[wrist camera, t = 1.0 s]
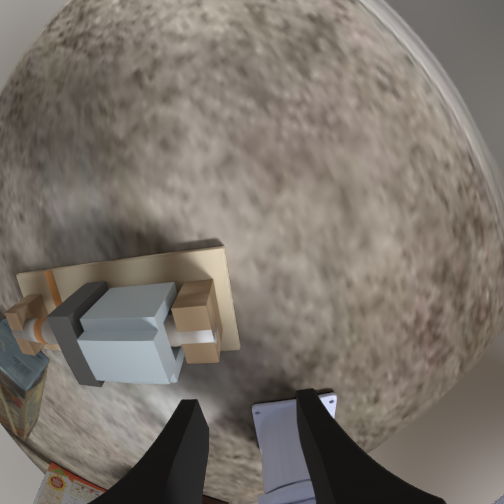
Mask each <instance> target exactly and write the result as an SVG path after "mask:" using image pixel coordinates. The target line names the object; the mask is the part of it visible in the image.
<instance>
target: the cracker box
mask: <svg viewBox="0 0 504 504" xmlns="http://www.w3.org/2000/svg"><path fill="white" fill-rule="evenodd" d="M106 491H107V490H105V489H102V488H100V487H98V486H96V485H94V484H91V483H89V482H87V481H85V480H83V479H81V478H79V477H78V476H76V475H74V474H72V473H70V472H69V471H67V470H65V469H63V468H62V467H60V466H58V465H57V464H55V463H53V462H51V464H50V466H49V468H48V470H47V472H46V474H45V477H44V479H43V481H42V484H41V486H40V488H39V491H38V493H37V495H36V498H35V500H34V503H33V504H87V503H89V502H91V501H92V500H94V499H95V498H97V497H98V496H100V495H101V494H103V493H104V492H106Z"/></svg>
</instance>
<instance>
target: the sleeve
mask: <svg viewBox="0 0 504 504" xmlns="http://www.w3.org/2000/svg"><path fill="white" fill-rule="evenodd" d="M177 296H178V295H177V291H176V286H175V282H170V283H159V284H149V285H139V286H128V287H116V288H110V289H109V290H108V291H107V292H106V293H105V294H104V295H103V296H102V297H101V298H100V299H99V300H98V301H97V302H96V303H95V304H94V305H93V306H92V307H91V308H90V309H89V310H88V311H87V312H86V313H85V314H84V315H83V316H82V317H81V318H80V322H81V324H82V327H83V329H84V332H83V333H82V335H81V336H80V337H79V338H78V339H77V342H78V344H79V346H80V348H81V350H82V353H83V355H84V357H85V359H86V361H87V363H88V365H89V367H90V369H91V371H92V373H93V375H94V376H95V378H96V380H100V381H111V382H124V383H142V384H170V382H177V380H178V377H179V373H180V370H181V366H182V363H183V359H184V356H185V355H184V352H183V348H182V346H175V347H171V346H170V343H169V340H168V337H167V334H166V330H165V327H164V324H163V322H164V320H165V318H166V316H167V315H173V314H172V310H171V308H172V306H173V304H174V302H175V300H176V298H177Z"/></svg>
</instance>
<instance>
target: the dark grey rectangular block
mask: <svg viewBox="0 0 504 504" xmlns="http://www.w3.org/2000/svg"><path fill="white" fill-rule="evenodd" d="M107 291H108V287H107V283H106V281H103V282H93V283H85V284H84V285H83V286H81V287H80V288H79V289H78V290H77V291H75V292H74V293H73V294H72V295H71V296H69V297H68V298H67V299H66V300H65V301H64V302H62V303H61V304H60V305H59V306H58V307H57V308H55V309H54V310H53V311H52V312H51V313H50V314H49V315H48V316H46V317H47V320H48V322H49V324H50V327H51V329H52V331H53V334H54V336H55V338H56V340H57V342H58V345H59V347H60V349H61V351H62V353H63V355H64V357H65V359H66V361H67V363H68V365H69V366H70V368H71V370H72V372H73V374H74V376H75V377H76V379H77V381H78V383H79V384H81V385H88V386H96V387H102V385H103V383H104V382H105V381H100V380H96V378H95V376H94V375H93V373H92V371H91V369H90V367H89V365H88V363H87V361H86V359H85V357H84V355H83V353H82V350H81V348H80V346H79V344H78V342H77V339H78V338H79V337H80V336H81V335H82V333H83V332H84V329H83V327H82V324H81V322H80V318H81V317H82V316H83V315H84V314H85V313H86V312H87V311H88V310H89V309H90V308H91V307H92V306H93V305H94V304H95V303H96V302H97V301H98V300H99V299H100V298H101V297H102V296H103V295H104V294H105V293H106V292H107Z"/></svg>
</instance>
